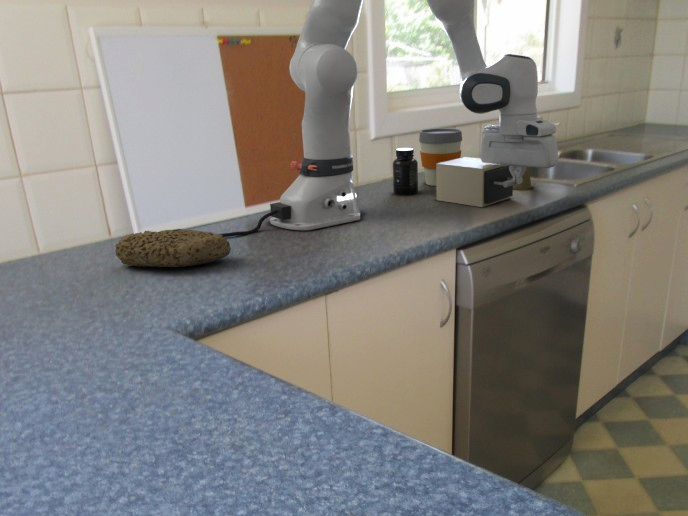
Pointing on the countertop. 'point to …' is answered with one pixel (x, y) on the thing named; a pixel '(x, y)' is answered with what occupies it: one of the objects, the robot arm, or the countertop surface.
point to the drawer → (497, 184)
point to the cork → (524, 181)
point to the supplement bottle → (405, 172)
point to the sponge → (171, 248)
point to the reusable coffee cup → (438, 149)
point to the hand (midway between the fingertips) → (517, 183)
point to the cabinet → (463, 181)
